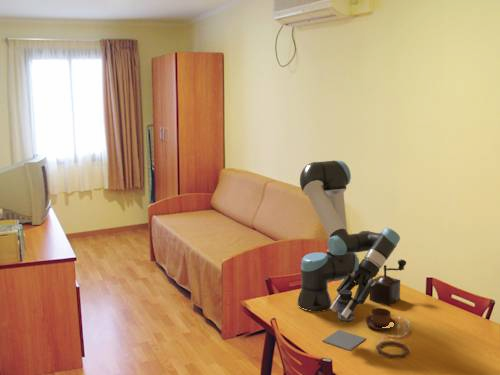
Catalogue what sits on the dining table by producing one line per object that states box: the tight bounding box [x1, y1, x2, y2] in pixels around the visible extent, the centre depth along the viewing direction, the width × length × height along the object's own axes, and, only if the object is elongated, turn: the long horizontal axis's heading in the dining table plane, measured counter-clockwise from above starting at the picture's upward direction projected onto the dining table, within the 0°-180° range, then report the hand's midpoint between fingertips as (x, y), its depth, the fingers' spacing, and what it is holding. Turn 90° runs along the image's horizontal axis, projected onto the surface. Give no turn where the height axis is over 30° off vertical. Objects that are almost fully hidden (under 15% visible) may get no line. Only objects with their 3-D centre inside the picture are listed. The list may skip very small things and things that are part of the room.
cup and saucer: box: [365, 307, 397, 331], centre depth 205 cm, size 12×12×6 cm
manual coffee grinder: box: [369, 259, 407, 306], centre depth 232 cm, size 16×11×18 cm
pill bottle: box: [337, 290, 355, 323], centre depth 190 cm, size 6×6×11 cm
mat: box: [322, 329, 367, 352], centre depth 193 cm, size 12×12×1 cm
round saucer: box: [375, 340, 410, 359], centre depth 184 cm, size 11×11×1 cm
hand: (338, 313), depth 189 cm, fingers closed on pill bottle, 6 cm apart
